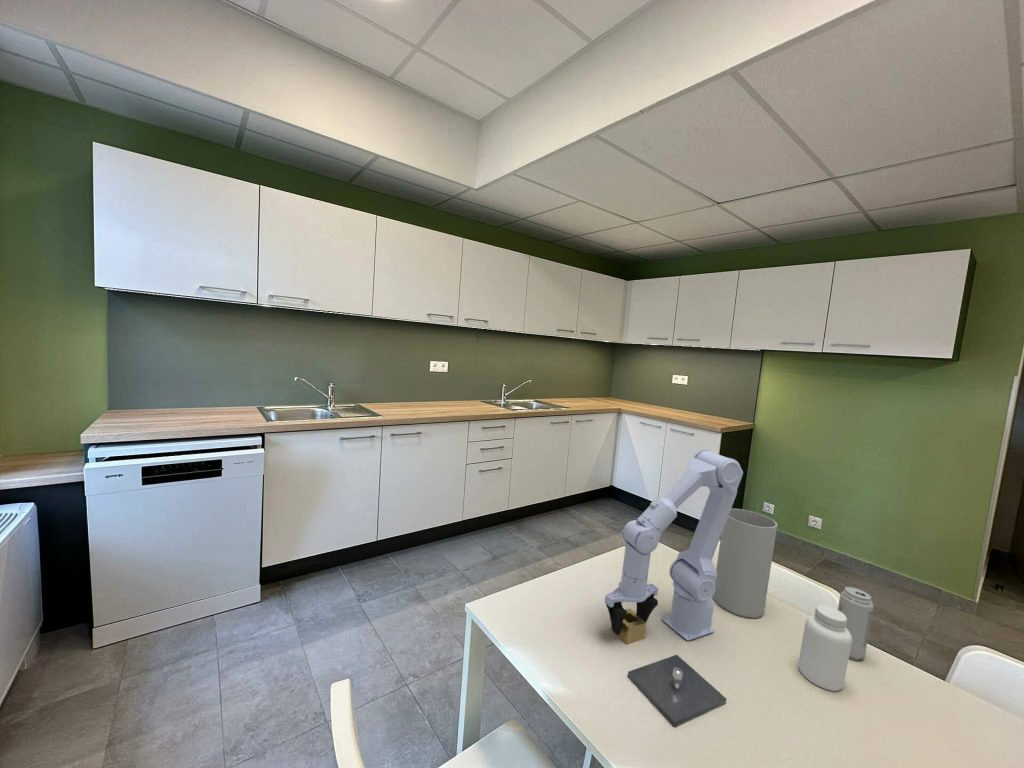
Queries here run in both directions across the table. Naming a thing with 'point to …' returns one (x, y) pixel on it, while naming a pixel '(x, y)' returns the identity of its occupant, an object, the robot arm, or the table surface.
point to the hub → (632, 628)
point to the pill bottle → (825, 648)
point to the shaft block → (676, 689)
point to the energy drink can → (857, 618)
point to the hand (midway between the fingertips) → (628, 628)
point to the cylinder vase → (745, 562)
